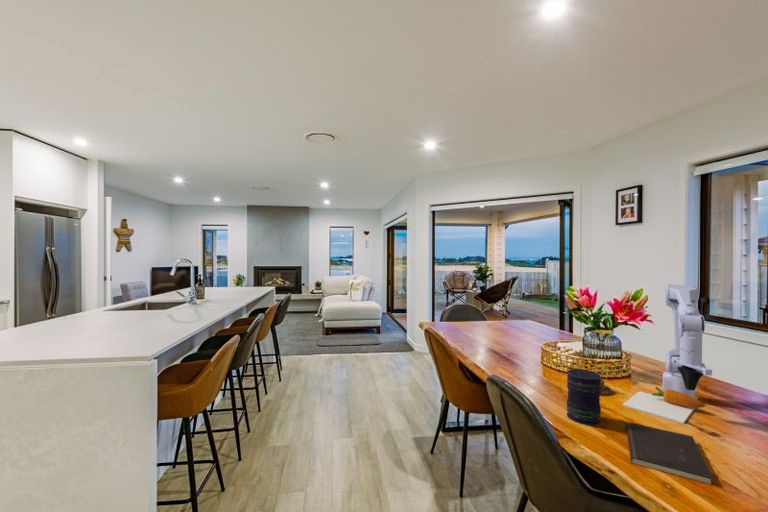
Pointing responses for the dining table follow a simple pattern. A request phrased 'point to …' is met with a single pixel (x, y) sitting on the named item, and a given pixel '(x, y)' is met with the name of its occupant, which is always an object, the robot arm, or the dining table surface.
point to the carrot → (678, 398)
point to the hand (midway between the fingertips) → (690, 389)
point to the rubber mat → (658, 407)
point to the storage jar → (583, 396)
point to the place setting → (604, 388)
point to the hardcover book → (667, 452)
